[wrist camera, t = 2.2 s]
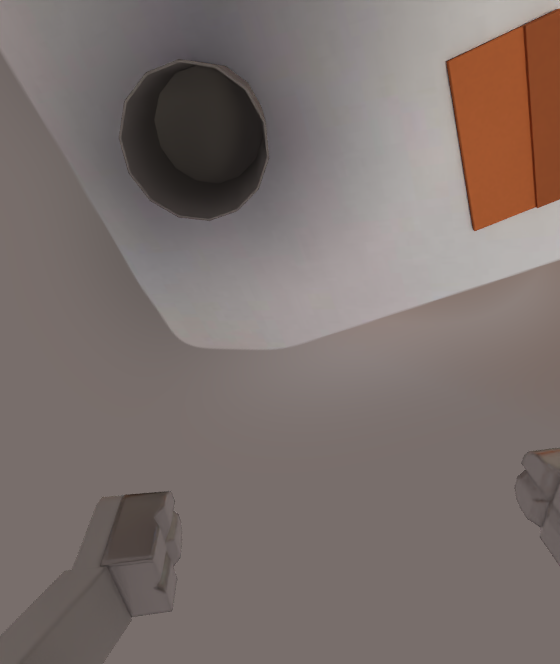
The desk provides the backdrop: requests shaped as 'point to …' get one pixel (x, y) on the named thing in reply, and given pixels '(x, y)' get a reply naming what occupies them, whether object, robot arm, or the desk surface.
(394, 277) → the desk surface
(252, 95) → the cup
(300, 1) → the desk surface
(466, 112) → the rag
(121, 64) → the desk surface
